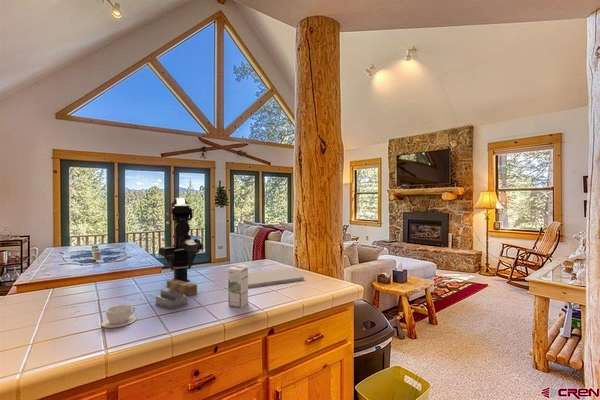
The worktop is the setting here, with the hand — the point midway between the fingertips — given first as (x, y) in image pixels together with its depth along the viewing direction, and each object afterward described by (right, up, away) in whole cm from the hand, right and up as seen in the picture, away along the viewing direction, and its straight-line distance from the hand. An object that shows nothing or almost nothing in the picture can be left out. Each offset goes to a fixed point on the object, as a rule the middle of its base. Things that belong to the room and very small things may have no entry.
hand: (181, 268), depth 132 cm
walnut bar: (0, -11, 0) cm, 11 cm away
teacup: (-8, -11, -33) cm, 36 cm away
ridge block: (+3, -10, -16) cm, 19 cm away
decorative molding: (+37, -11, +15) cm, 41 cm away
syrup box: (+29, -11, -17) cm, 35 cm away
